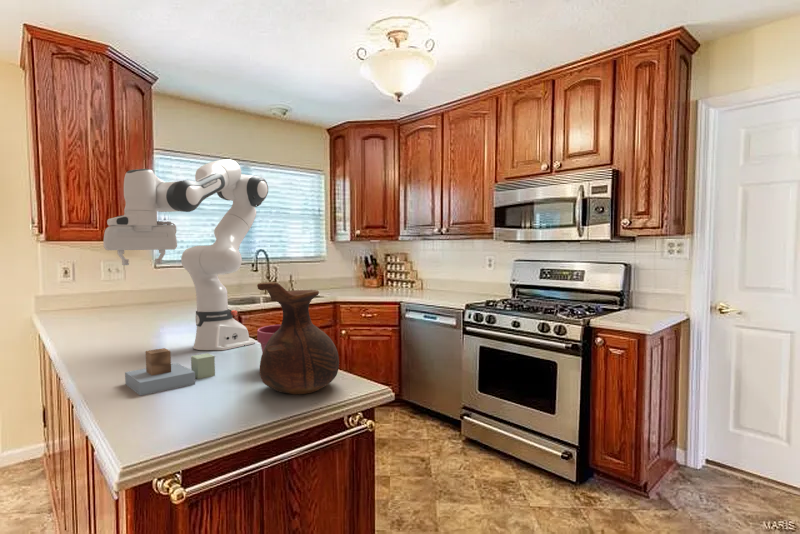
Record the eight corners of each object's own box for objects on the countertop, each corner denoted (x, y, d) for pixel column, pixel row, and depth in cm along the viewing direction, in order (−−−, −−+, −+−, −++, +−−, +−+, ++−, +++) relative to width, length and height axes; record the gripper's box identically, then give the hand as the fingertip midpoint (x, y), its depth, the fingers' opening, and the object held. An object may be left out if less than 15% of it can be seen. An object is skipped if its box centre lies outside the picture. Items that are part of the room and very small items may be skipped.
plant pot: (287, 376, 137) (287, 333, 136) (248, 371, 142) (247, 330, 141) (312, 364, 151) (311, 325, 150) (275, 360, 155) (274, 323, 154)
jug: (255, 381, 132) (253, 277, 130) (329, 373, 139) (328, 275, 138) (260, 406, 111) (258, 283, 110) (347, 395, 119) (346, 280, 118)
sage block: (208, 372, 142) (207, 353, 141) (215, 375, 138) (214, 356, 138) (191, 375, 138) (191, 356, 138) (198, 379, 134) (197, 358, 134)
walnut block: (165, 368, 133) (164, 348, 133) (171, 371, 129) (170, 350, 129) (146, 372, 130) (145, 351, 129) (151, 375, 126) (151, 353, 126)
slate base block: (177, 375, 140) (177, 362, 139) (195, 386, 130) (194, 372, 129) (125, 386, 130) (125, 372, 130) (140, 397, 120) (139, 382, 120)
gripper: (172, 222, 153) (174, 263, 154) (101, 219, 139) (102, 265, 140) (179, 221, 149) (180, 263, 149) (106, 219, 134) (107, 266, 135)
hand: (142, 264), depth 144 cm, fingers open, 8 cm apart
